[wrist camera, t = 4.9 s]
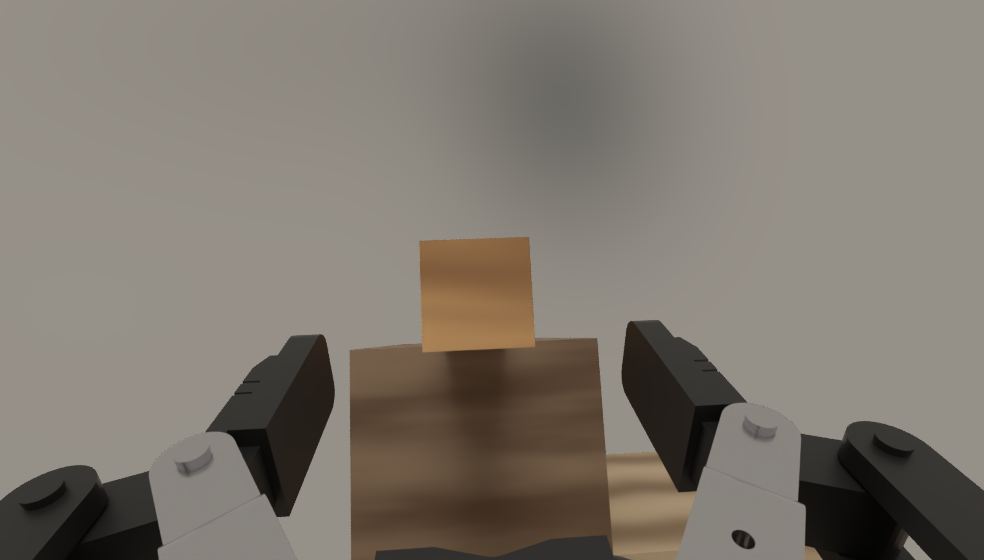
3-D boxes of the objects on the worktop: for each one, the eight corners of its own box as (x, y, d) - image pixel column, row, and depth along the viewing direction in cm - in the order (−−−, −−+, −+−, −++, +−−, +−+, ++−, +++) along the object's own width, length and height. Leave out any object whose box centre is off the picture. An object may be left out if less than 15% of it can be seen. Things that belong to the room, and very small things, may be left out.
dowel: (535, 346, 12) (529, 236, 12) (422, 352, 12) (419, 241, 12) (491, 340, 38) (489, 304, 38) (455, 342, 38) (453, 306, 38)
